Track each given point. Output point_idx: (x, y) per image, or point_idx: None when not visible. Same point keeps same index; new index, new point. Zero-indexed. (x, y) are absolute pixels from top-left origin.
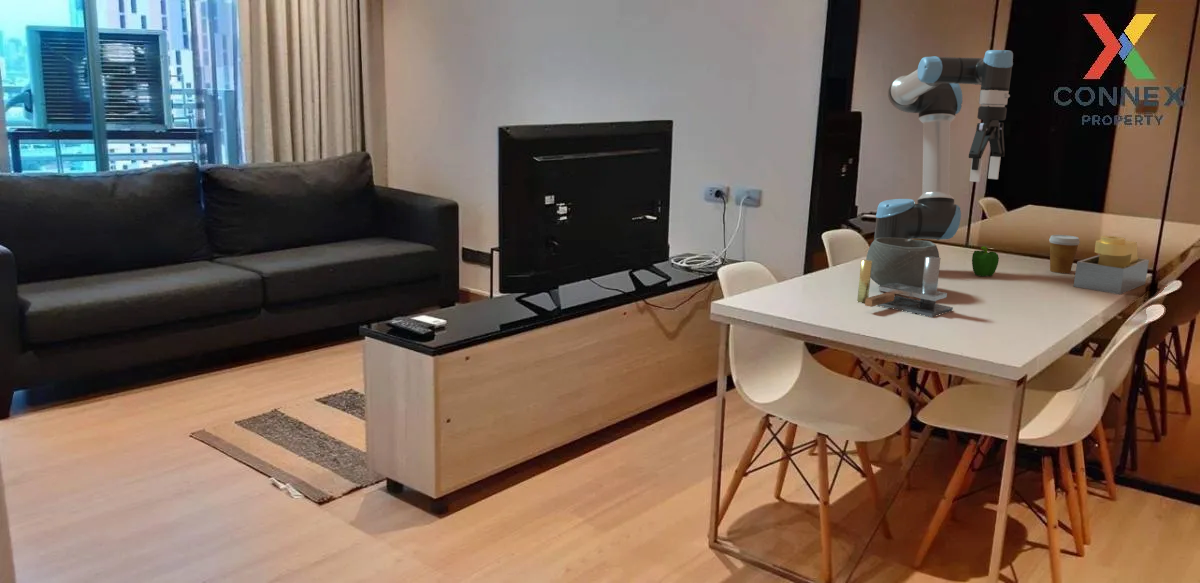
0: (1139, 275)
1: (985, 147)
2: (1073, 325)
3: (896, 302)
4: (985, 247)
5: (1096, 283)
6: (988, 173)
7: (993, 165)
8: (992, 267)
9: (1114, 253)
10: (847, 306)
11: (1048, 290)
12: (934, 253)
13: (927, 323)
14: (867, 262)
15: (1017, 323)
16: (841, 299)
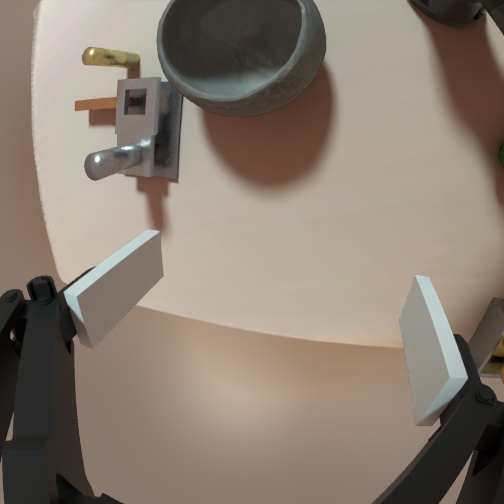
0: None
1: (74, 415)
2: (225, 320)
3: (141, 105)
4: None
5: (482, 330)
6: (422, 291)
7: (422, 350)
8: None
9: (502, 374)
10: (100, 66)
11: (449, 272)
12: (218, 110)
13: (99, 179)
14: (83, 63)
15: (180, 266)
16: (127, 35)
